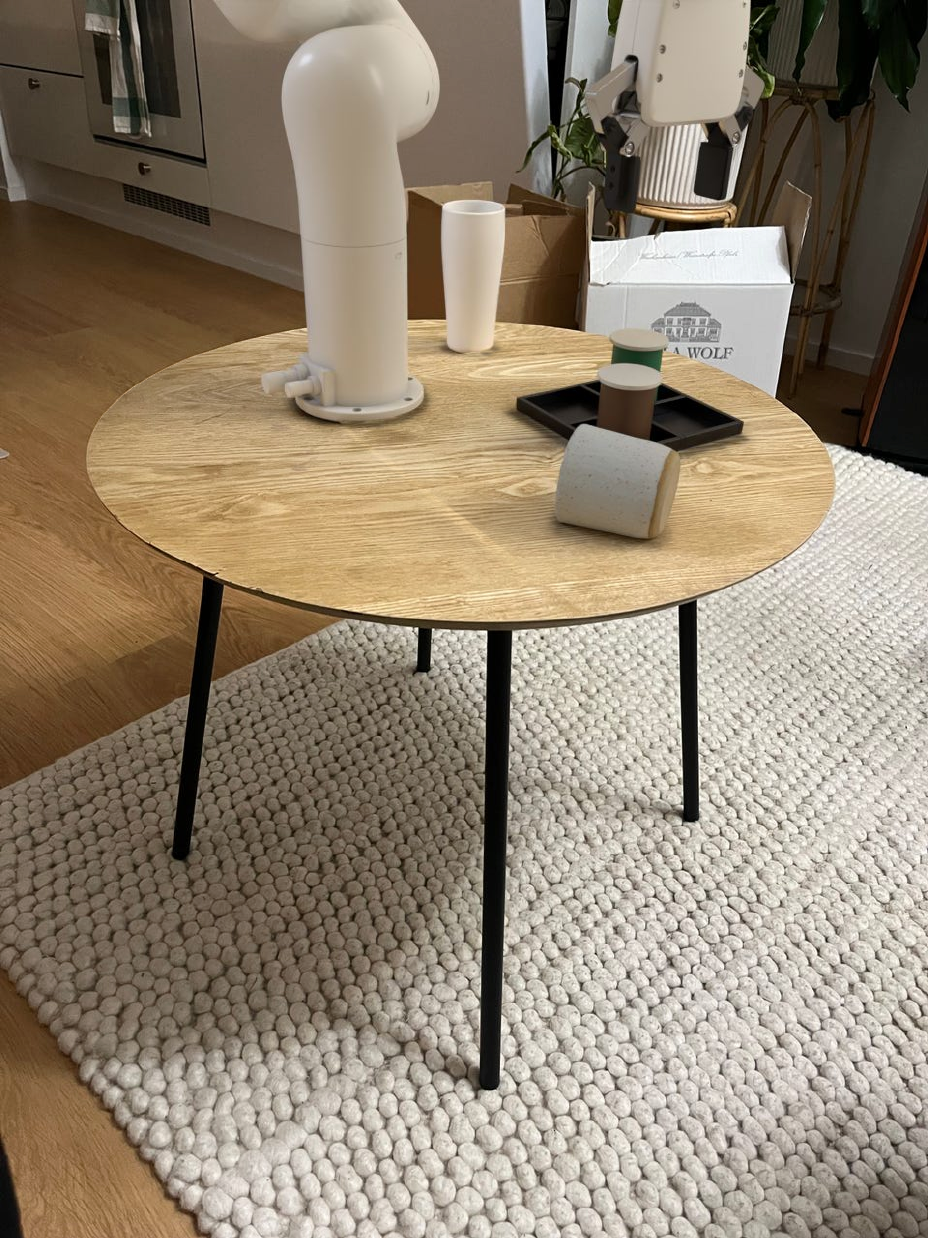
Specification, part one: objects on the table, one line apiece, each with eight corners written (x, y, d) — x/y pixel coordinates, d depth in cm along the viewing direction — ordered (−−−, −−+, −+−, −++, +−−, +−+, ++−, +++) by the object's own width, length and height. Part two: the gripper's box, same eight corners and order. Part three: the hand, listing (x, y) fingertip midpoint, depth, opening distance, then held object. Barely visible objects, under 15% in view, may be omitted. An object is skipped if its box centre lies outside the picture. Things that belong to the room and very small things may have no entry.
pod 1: (627, 416, 95) (635, 350, 92) (591, 397, 99) (597, 333, 96) (671, 405, 98) (681, 341, 94) (634, 387, 102) (642, 324, 98)
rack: (615, 473, 86) (617, 455, 85) (515, 413, 96) (516, 397, 95) (741, 438, 93) (744, 421, 92) (635, 386, 103) (637, 370, 102)
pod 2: (617, 460, 87) (626, 390, 83) (578, 437, 91) (584, 369, 87) (665, 447, 89) (676, 378, 86) (625, 425, 93) (633, 359, 90)
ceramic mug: (655, 559, 74) (670, 463, 69) (549, 538, 76) (557, 443, 72) (682, 501, 82) (696, 412, 78) (585, 483, 84) (594, 396, 80)
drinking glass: (502, 339, 115) (508, 200, 106) (497, 359, 109) (504, 214, 101) (443, 336, 115) (445, 198, 107) (436, 355, 110) (437, 211, 101)
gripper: (743, -53, 77) (709, 185, 86) (566, -57, 69) (550, 205, 78) (820, -52, 72) (775, 201, 81) (639, -57, 64) (612, 224, 73)
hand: (665, 203), depth 80 cm, fingers open, 9 cm apart
